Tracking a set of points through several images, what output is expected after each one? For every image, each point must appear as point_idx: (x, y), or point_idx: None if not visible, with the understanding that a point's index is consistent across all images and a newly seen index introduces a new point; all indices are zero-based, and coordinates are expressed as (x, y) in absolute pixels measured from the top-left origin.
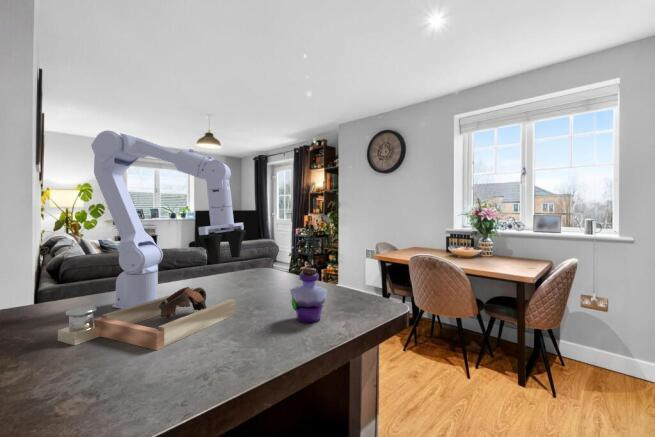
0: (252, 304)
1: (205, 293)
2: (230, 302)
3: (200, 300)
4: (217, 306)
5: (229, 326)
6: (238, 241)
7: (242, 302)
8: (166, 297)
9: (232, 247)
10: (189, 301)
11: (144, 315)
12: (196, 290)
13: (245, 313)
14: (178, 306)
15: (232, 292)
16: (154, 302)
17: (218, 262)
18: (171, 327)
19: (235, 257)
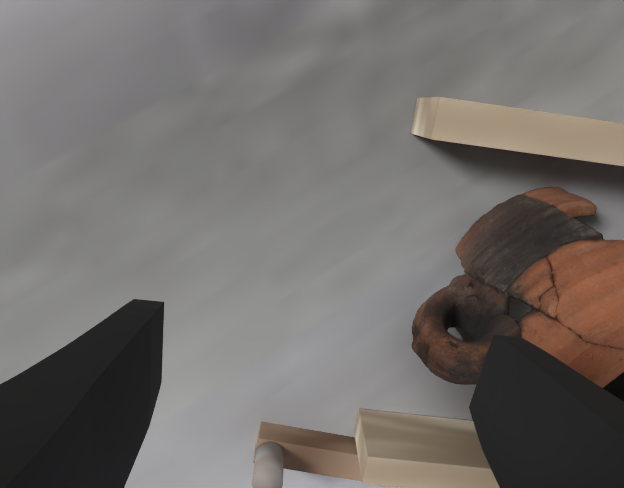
0: (219, 95)
1: (432, 319)
2: (491, 104)
3: (604, 243)
4: (601, 125)
5: (600, 24)
6: (65, 442)
7: (204, 176)
8: (487, 479)
9: (113, 472)
10: (306, 433)
11: None
12: None
13: (390, 48)
14: (409, 421)
15: (40, 343)
16: None
17: (517, 338)
18: None
19: (160, 338)
